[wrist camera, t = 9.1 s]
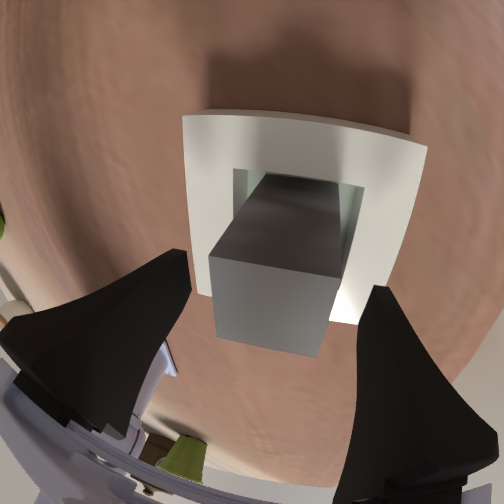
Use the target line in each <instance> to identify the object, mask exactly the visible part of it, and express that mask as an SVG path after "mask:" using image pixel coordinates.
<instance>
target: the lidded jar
mask: <svg viewBox="0 0 504 504" xmlns="http://www.w3.org/2000/svg"><path fill="white" fill-rule="evenodd" d="M30 313H34V312H33V310H32V309H31V308H30V307H29V306H28V305H27V304H26V303H25V302H24V301H23V300H21V301H18V300H12V301H9V302H7V303H6V304H5V305H3V306H2V307H1V308H0V327H1V329H3V328H4V326H5V325H6V324H7V323H8V322H9V321H10V320H11V318H13V317H14V316H20V315H25V314H30Z"/></svg>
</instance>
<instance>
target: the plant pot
mask: <svg viewBox="0 0 504 504" xmlns="http://www.w3.org/2000/svg"><path fill="white" fill-rule="evenodd" d="M206 449H207V445H206V444H204V442H202V441H200V440H197V439H196V438H193V437H186V436H185V435H180V437H179V438H178V440H177V441H176V443H175V444H174V446H173V447H172V449H171V450H170V452H169V453H168V455H167V456H166V457H165V459H163V460H162V462H161V463H160V465H157V467H158V468H160V469H163V470H165V471H167V472H169V473H172V474H174V475H177V476H179V477H182V478H185V479H188V480H191V481H194V482H197V483H200V484H203V483H202V482H201V481H202V470H203V465H204V459H205V454H206Z"/></svg>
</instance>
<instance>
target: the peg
mask: <svg viewBox="0 0 504 504" xmlns="http://www.w3.org/2000/svg"><path fill="white" fill-rule="evenodd" d="M208 260H209V271H210V281H211V291H212V300H213V309H214V318H215V326H216V334H217V337H219V338H223V339H227V340H231V341H236V342H240V343H244V344H249V345H253V346H258V347H262V348H267V349H272V350H277V351H282V352H287V353H293V354H298V355H304V356H310V357H317V354H318V351H319V348H320V345H321V342H322V340H323V337H324V334H325V331H326V328H327V324H328V321H329V318H330V315H331V312H332V309H333V305H334V302H335V299H336V295H337V292H338V288H339V285H340V281H341V223H340V201H339V185H338V184H336V183H330V182H324V181H317V180H310V179H303V178H296V177H288V176H280V175H272V174H265V175H264V177H263V178H262V179H261V181H260V182H259V183H258V185H257V186H256V188H255V189H254V190H253V192H252V193H251V195H250V196H249V197H248V199H247V200H246V202H245V203H244V204H243V206H242V207H241V209H240V210H239V212H238V213H237V214H236V216H235V217H234V219H233V220H232V222H231V223H230V224H229V226H228V227H227V229H226V230H225V232H224V233H223V235H222V236H221V237H220V239H219V240H218V242H217V243H216V245H215V246H214V248H213V249H212V251H211V252H210V254H209V255H208Z"/></svg>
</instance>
